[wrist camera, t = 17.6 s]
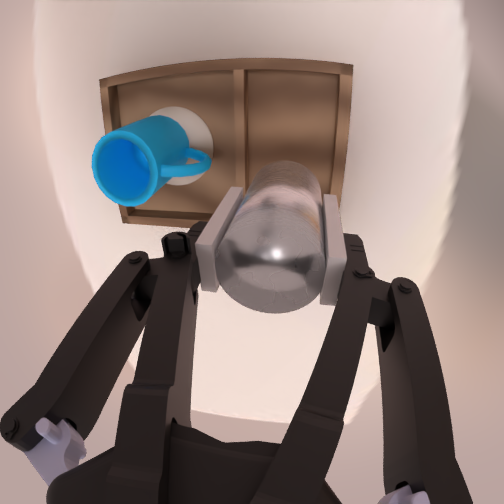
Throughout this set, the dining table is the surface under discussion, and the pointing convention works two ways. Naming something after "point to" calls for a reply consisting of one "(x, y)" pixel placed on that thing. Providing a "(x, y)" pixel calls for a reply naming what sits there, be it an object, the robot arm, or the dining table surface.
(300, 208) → the clear rounded cylinder
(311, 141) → the tray
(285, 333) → the dining table surface
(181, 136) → the mug
